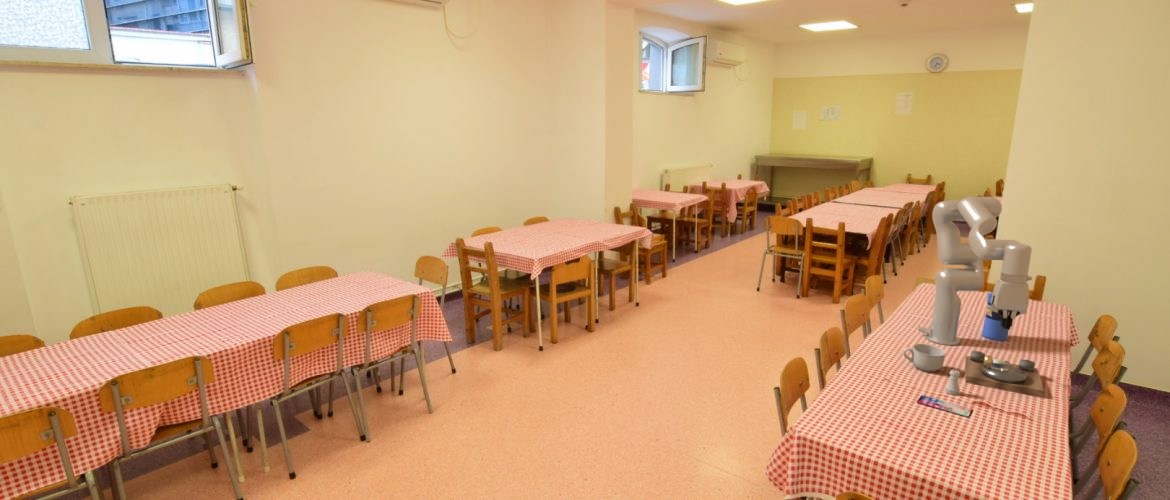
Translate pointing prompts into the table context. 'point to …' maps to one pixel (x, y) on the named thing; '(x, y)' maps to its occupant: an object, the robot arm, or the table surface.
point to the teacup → (926, 357)
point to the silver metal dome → (1002, 372)
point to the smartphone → (945, 406)
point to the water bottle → (993, 324)
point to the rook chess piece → (953, 383)
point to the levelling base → (976, 377)
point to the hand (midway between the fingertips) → (1005, 328)
